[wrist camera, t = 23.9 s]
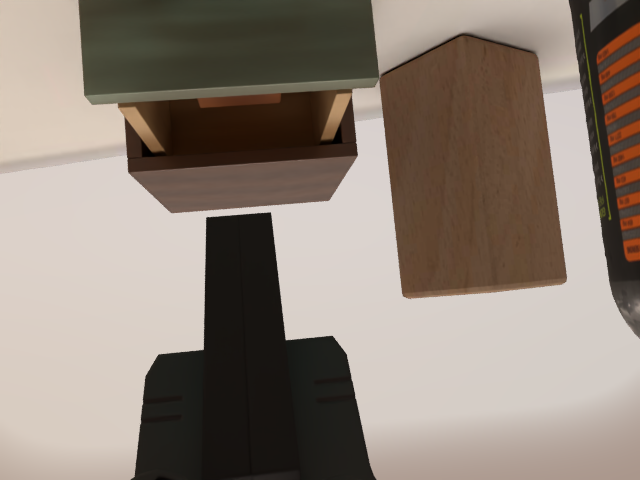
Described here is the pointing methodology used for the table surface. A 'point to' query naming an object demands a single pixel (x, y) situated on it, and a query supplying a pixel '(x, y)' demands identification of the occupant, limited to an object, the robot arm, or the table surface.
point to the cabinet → (244, 173)
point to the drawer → (227, 68)
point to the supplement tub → (614, 134)
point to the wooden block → (471, 172)
